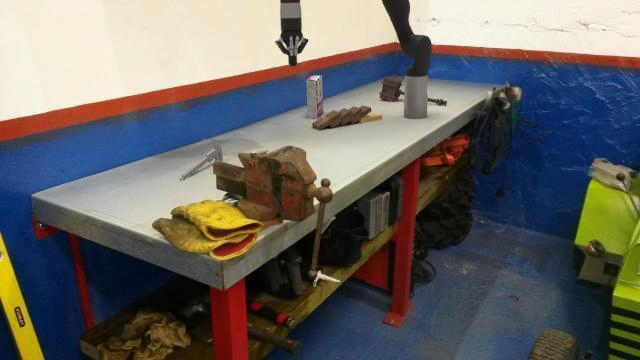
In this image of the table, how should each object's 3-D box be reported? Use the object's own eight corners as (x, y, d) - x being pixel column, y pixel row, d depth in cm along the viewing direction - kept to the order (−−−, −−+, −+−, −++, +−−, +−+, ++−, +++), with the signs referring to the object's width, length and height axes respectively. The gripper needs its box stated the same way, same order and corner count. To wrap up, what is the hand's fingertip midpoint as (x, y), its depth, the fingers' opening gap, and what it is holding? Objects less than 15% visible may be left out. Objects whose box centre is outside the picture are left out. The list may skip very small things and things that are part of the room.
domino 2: (324, 125, 203) (345, 111, 207) (331, 128, 199) (353, 114, 202) (322, 121, 202) (343, 108, 206) (330, 124, 198) (351, 110, 201)
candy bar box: (312, 112, 226) (311, 75, 220) (323, 112, 225) (322, 75, 219) (306, 118, 215) (305, 79, 210) (318, 118, 214) (317, 79, 209)
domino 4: (344, 122, 208) (363, 109, 212) (352, 124, 204) (371, 111, 208) (342, 118, 207) (362, 105, 211) (351, 120, 203) (370, 107, 207)
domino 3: (334, 123, 205) (354, 110, 209) (342, 126, 201) (362, 112, 205) (333, 119, 204) (352, 106, 208) (341, 122, 200) (361, 108, 204)
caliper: (220, 160, 164) (218, 141, 162) (223, 160, 164) (221, 142, 162) (179, 181, 147) (176, 160, 145) (182, 181, 146) (179, 161, 144)
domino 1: (313, 127, 201) (334, 114, 204) (320, 130, 196) (342, 116, 200) (311, 123, 200) (333, 110, 203) (318, 126, 195) (340, 112, 199)
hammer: (383, 95, 252) (387, 75, 247) (445, 114, 238) (451, 94, 233) (377, 97, 246) (381, 77, 242) (440, 117, 232) (446, 96, 228)
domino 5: (353, 120, 210) (374, 116, 215) (360, 123, 206) (382, 119, 211) (353, 116, 209) (374, 112, 215) (360, 118, 205) (382, 114, 210)
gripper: (302, 15, 186) (303, 63, 192) (269, 17, 180) (272, 66, 186) (312, 15, 180) (313, 65, 186) (278, 17, 173) (281, 68, 179)
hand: (292, 66), depth 186 cm, fingers closed
